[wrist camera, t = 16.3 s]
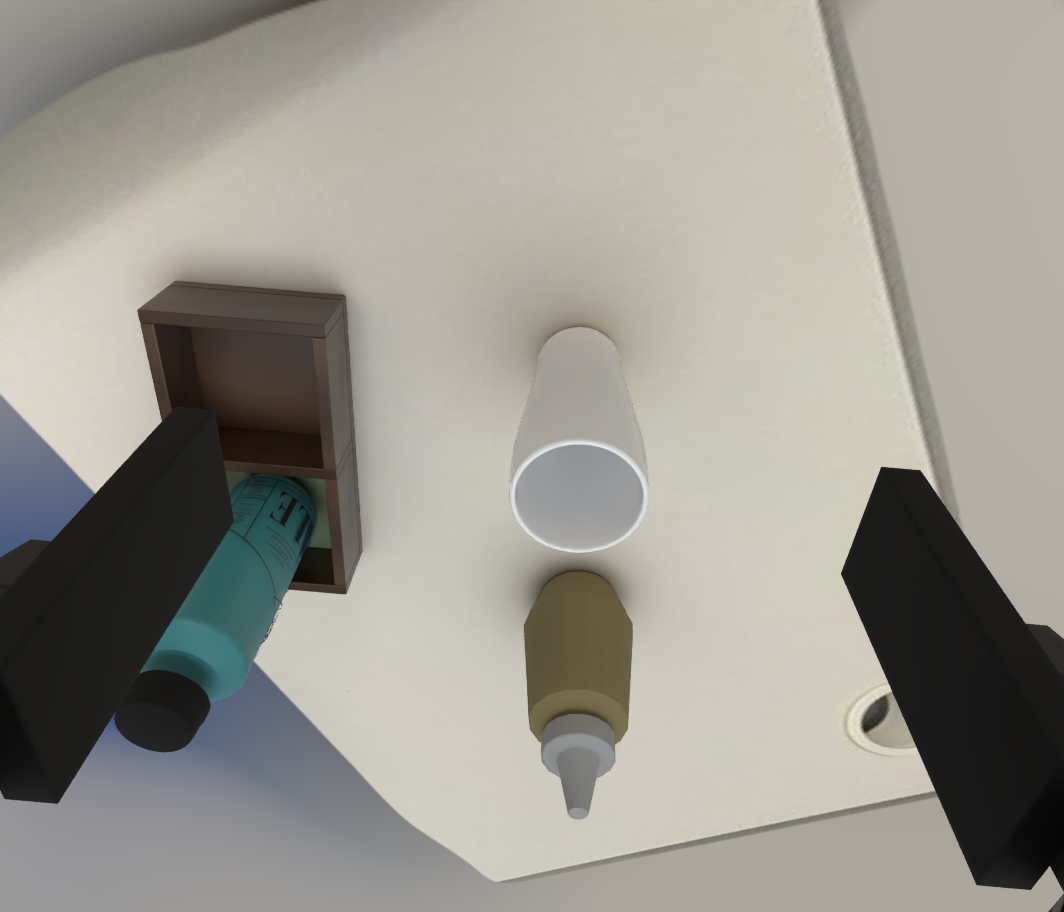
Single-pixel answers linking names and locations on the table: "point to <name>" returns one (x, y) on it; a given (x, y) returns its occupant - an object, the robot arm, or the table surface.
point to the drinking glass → (579, 448)
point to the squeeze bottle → (578, 680)
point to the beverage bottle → (221, 616)
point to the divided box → (269, 399)
